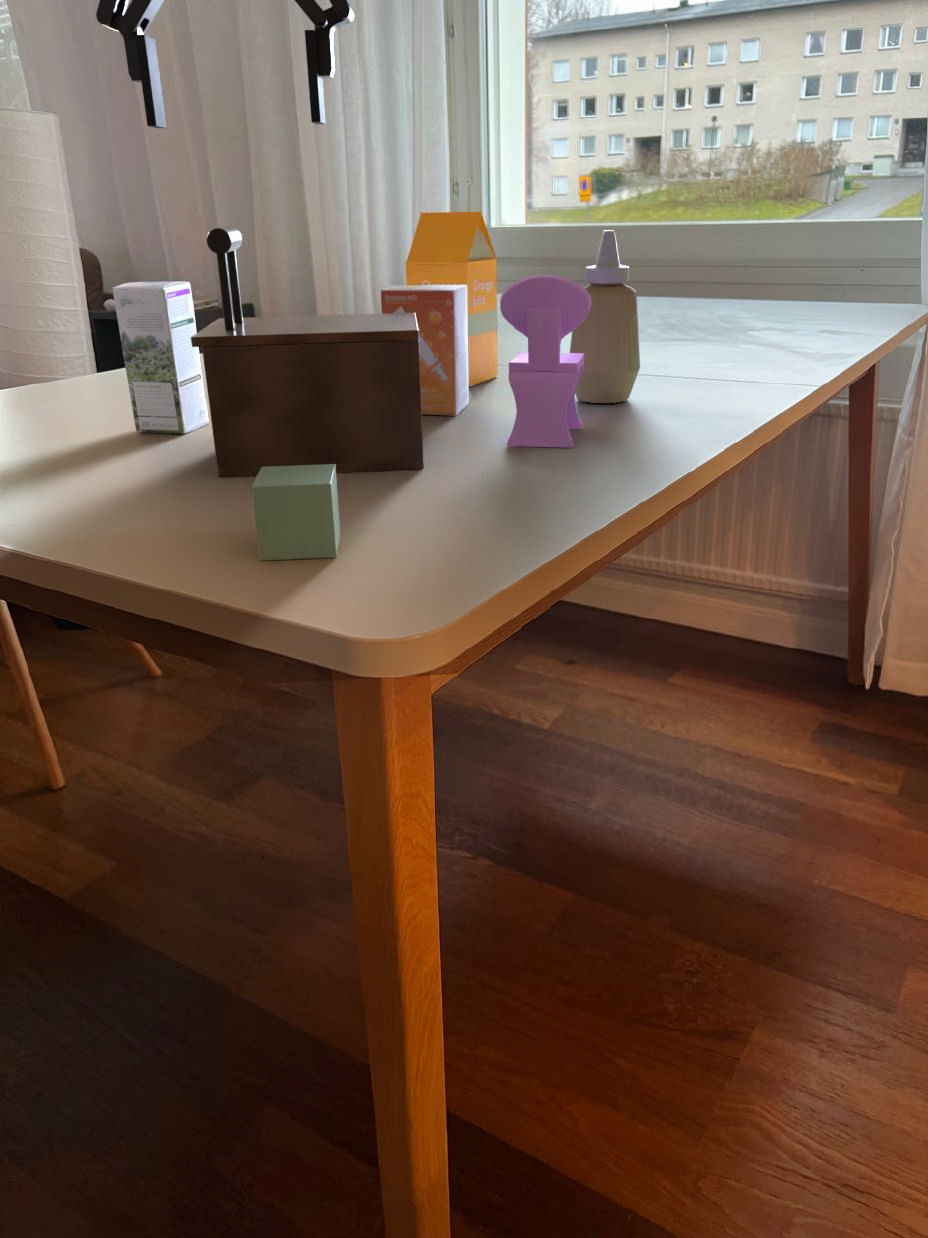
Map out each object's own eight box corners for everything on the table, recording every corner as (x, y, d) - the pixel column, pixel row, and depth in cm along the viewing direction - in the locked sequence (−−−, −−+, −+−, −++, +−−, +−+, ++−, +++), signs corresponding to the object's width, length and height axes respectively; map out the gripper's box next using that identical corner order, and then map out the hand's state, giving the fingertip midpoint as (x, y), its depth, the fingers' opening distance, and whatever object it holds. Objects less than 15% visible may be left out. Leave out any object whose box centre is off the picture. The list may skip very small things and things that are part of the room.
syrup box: (210, 422, 103) (192, 279, 97) (184, 435, 97) (162, 284, 92) (162, 421, 104) (141, 280, 98) (133, 433, 99) (109, 284, 93)
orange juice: (469, 386, 119) (465, 212, 111) (409, 382, 123) (402, 213, 115) (498, 377, 125) (497, 210, 117) (441, 372, 129) (435, 211, 121)
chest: (218, 477, 82) (201, 347, 78) (241, 441, 95) (228, 327, 90) (423, 469, 83) (418, 340, 79) (420, 434, 95) (415, 321, 91)
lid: (191, 347, 78) (176, 229, 74) (219, 327, 90) (207, 226, 87) (418, 339, 79) (414, 223, 75) (415, 321, 91) (411, 220, 88)
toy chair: (592, 427, 97) (597, 269, 91) (584, 447, 89) (589, 276, 83) (511, 425, 98) (510, 270, 92) (496, 445, 90) (494, 277, 84)
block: (259, 561, 63) (251, 486, 61) (269, 536, 67) (261, 466, 65) (336, 557, 63) (330, 483, 61) (340, 533, 67) (335, 463, 65)
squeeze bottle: (556, 396, 112) (558, 230, 105) (618, 391, 114) (625, 228, 107) (585, 409, 105) (590, 232, 98) (651, 403, 107) (661, 229, 100)
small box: (385, 414, 105) (378, 288, 99) (401, 403, 110) (396, 283, 105) (457, 416, 103) (454, 288, 98) (470, 404, 109) (467, 283, 103)
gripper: (376, -182, 75) (390, 124, 83) (60, -171, 75) (106, 131, 84) (365, -220, 68) (382, 117, 76) (18, -208, 69) (72, 125, 77)
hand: (237, 125), depth 80 cm, fingers open, 13 cm apart
